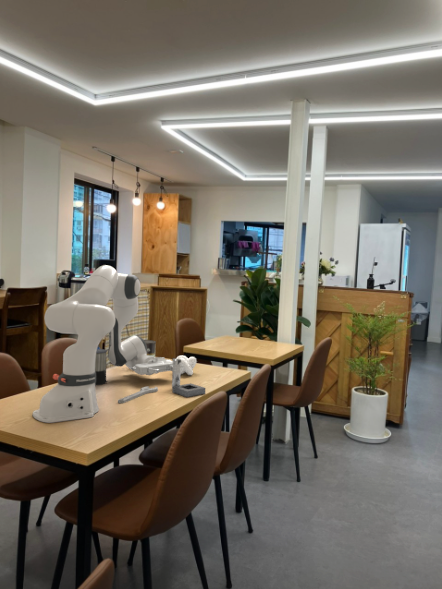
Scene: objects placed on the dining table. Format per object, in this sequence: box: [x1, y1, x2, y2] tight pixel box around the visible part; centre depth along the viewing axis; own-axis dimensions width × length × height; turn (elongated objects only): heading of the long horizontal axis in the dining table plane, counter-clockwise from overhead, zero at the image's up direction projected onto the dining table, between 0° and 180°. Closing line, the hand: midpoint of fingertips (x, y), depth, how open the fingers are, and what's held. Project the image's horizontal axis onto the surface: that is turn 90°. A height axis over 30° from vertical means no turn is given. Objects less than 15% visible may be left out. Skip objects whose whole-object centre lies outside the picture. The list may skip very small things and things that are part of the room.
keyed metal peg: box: [171, 357, 181, 389], centre depth 204 cm, size 4×5×13 cm
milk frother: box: [95, 348, 108, 386], centre depth 211 cm, size 14×16×15 cm
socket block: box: [171, 382, 206, 398], centre depth 197 cm, size 10×10×2 cm
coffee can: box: [143, 339, 157, 357], centre depth 246 cm, size 10×10×14 cm
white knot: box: [175, 355, 197, 376], centre depth 233 cm, size 11×12×9 cm
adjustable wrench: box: [117, 386, 159, 404], centre depth 191 cm, size 25×6×2 cm, turn 152°
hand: (165, 370), depth 209 cm, fingers open, 8 cm apart
